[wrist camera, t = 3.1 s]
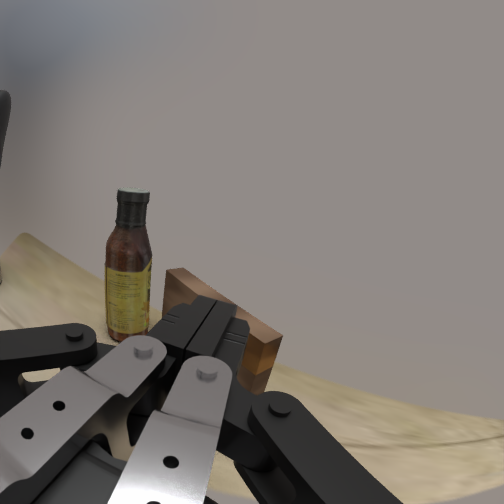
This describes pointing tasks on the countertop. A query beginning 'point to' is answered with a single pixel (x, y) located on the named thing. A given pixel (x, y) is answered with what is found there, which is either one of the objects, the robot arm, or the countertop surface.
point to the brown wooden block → (260, 336)
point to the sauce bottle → (128, 267)
